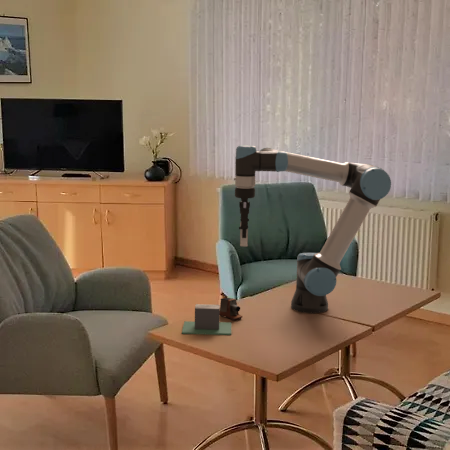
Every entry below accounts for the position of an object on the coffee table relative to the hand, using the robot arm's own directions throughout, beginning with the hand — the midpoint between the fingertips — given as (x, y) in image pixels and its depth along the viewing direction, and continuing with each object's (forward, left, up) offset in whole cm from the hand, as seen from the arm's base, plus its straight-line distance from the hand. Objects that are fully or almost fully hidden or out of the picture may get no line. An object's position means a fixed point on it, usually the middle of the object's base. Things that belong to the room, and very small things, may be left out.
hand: (243, 242), depth 259 cm
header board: (+13, +12, -31) cm, 35 cm away
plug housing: (+13, +12, -30) cm, 35 cm away
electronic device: (+4, -2, -31) cm, 31 cm away
